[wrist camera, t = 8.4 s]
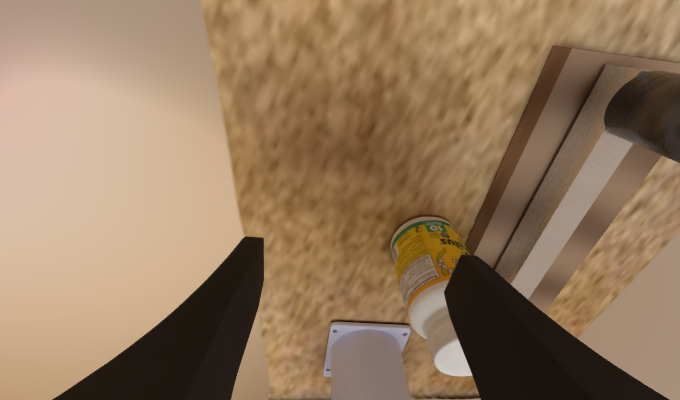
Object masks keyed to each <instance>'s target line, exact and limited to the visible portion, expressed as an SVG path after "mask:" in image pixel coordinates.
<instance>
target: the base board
mask: <svg viewBox="0 0 680 400" xmlns="http://www.w3.org/2000/svg"><path fill="white" fill-rule="evenodd" d="M606 64H607V65H614V66H622V67H630V68H637V69H644V70H650V71H666V72H672V73H678V74H680V63H675V62H668V61H661V60H653V59H646V58H639V57H631V56H624V55H617V54H610V53H602V52H595V51H588V50H580V49H573V48H566V47H558V46H553V48H552V51H551V53H550V55H549V57H548V60H547V62H546V64H545V66H544V69H543V71H542V73H541V75H540V78H539V80H538V82H537V84H536V87H535V89H534V91H533V93H532V96H531V98H530V100H529V102H528V105H527V107H526V109H525V111H524V114H523V116H522V118H521V120H520V123H519V125H518V127H517V129H516V132H515V134H514V136H513V139H512V141H511V143H510V145H509V148H508V150H507V152H506V154H505V157H504V159H503V161H502V163H501V166H500V168H499V170H498V172H497V175H496V177H495V179H494V181H493V184H492V186H491V188H490V190H489V193H488V195H487V197H486V199H485V202H484V204H483V206H482V208H481V211H480V213H479V215H478V217H477V220H476V222H475V224H474V226H473V229H472V231H471V233H470V235H469V238H468V240H467V242H466V245H465V246H466V248H467V249H468V251H469V253H470V254H471V255H475V256H478V257H479V258H481V259H482V260H483V261H484V262H485V263H487V264H488V265H489V266H490V267H491V268H493V269H494V270H495V269H496V267H497V265H498V263H499V261H500V259H501V258H502V256H503V254H504V252H505V250H506V248H507V247H508V245H509V243H510V241H511V239H512V237H513V236H514V234H515V232H516V230H517V228H518V226H519V224H520V223H521V221H522V219H523V217H524V215H525V213H526V212H527V210H528V208H529V206H530V204H531V202H532V201H533V199H534V197H535V195H536V193H537V191H538V189H539V188H540V186H541V184H542V182H543V180H544V178H545V177H546V175H547V173H548V171H549V169H550V167H551V165H552V164H553V162H554V160H555V158H556V156H557V154H558V153H559V151H560V149H561V147H562V145H563V143H564V142H565V140H566V138H567V136H568V134H569V132H570V130H571V129H572V127H573V125H574V123H575V121H576V119H577V118H578V116H579V114H580V112H581V110H582V108H583V106H584V105H585V103H586V101H587V99H588V97H589V95H590V94H591V92H592V90H593V88H594V86H595V84H596V83H597V81H598V79H599V77H600V75H601V73H602V71H603V70H604V68H605V66H606ZM661 156H662V155H660V154H657V153H655V152H653V151H650V150H648V149H646V148H643V147H641V146H638V145H636V144H634V143H633V145H632V146H631V148H630V149H629V151H628V152H627V154H626V155H625V157H624V158H623V159H622V161H621V162H620V164H619V165H618V167H617V168H616V170H615V171H614V173H613V174H612V176H611V177H610V179H609V180H608V182H607V183H606V185H605V186H604V188H603V189H602V191H601V192H600V194H599V195H598V197H597V198H596V200H595V201H594V203H593V204H592V205H591V207H590V208H589V210H588V211H587V213H586V214H585V216H584V217H583V219H582V220H581V222H580V223H579V225H578V226H577V228H576V229H575V231H574V232H573V234H572V235H571V237H570V238H569V240H568V241H567V243H566V244H565V246H564V247H563V248H562V250H561V251H560V253H559V254H558V256H557V257H556V259H555V260H554V262H553V263H552V265H551V266H550V268H549V269H548V271H547V272H546V274H545V275H544V277H543V278H542V280H541V281H540V283H539V284H538V286H537V287H536V289H535V290H534V292H533V293H532V294H531V296H530V297H529V299H528V300H529V301H530V302H531V303H533V304H534V305H535V306H536V307H537V308H539V309H540V310H541V311H542V312H543V313H545V312H546V310H547V309H548V308H549V306H550V305H551V303H552V302H553V301H554V299H555V298H556V297H557V295H558V294H559V293H560V291H561V290H562V289H563V287H564V286H565V285H566V283H567V282H568V281H569V279H570V278H571V277H572V275H573V274H574V273H575V271H576V270H577V269H578V267H579V266H580V265H581V263H582V262H583V261H584V259H585V258H586V257H587V255H588V254H589V253H590V251H591V250H592V249H593V247H594V246H595V245H596V243H597V242H598V240H599V239H600V238H601V236H602V235H603V234H604V232H605V231H606V230H607V228H608V227H609V226H610V224H611V223H612V222H613V220H614V219H615V218H616V216H617V215H618V214H619V212H620V211H621V210H622V208H623V207H624V206H625V204H626V203H627V202H628V200H629V199H630V198H631V196H632V195H633V194H634V192H635V191H636V190H637V188H638V187H639V186H640V184H641V183H642V181H643V180H644V179H645V177H646V176H647V175H648V173H649V172H650V171H651V169H652V168H653V167H654V165H655V164H656V163H657V161H658V160H659V159H660V157H661Z"/></svg>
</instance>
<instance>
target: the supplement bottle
mask: <svg viewBox="0 0 680 400" xmlns="http://www.w3.org/2000/svg"><path fill="white" fill-rule="evenodd" d="M391 254H392V258H393V262H394V266H395V270H396V273H397V277H398V281H399V284H400V288H401V292H402V296H403V299H404V303H405V307H406V311H407V314H408V318H409V321H410V323H411V325H412V327H413V329H414V330H415V331H416V332H417V333H418V334H419V335H420V336H421V337H423V338H425V339H427V340H428V348H429V350H430V353H431V356H432V359H433V362H434V364H435V366H436V368H437V369H438V370H439V371H441V372H442V373H444V374H447V375H451V376H472V373H471V370H470V368H469V365H468V363H467V360H466V358H465V355H464V353H463V350H462V348H461V345H460V343H459V340H458V338H457V335H456V332H455V330H454V327H453V325H452V322H451V319H450V316H449V312H448V308H447V304H446V300H445V295H444V291H445V288H446V286H447V284H448V282H449V280H450V278H451V275H452V273H453V271H454V269H455V267H456V265H457V262H458V260H459V258H460V256H461V254H463V255H471V254H470V253H469V251H468V249H467V248H466V246H465V244H464V242H463V241H462V239H461V237H460V236H459V234H458V232H457V231H456V229H455V228H454V226H453V225H452V224H451V223H449V222H448V221H446V220H444V219H442V218H439V217H419V218H415V219H412V220H410V221H408V222H406V223H405V224H403V225H402V226H401V227H400V228H399V229H398V230H397V231H396V232H395V234H394V235H393V238H392V241H391Z"/></svg>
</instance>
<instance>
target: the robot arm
mask: <svg viewBox="0 0 680 400" xmlns="http://www.w3.org/2000/svg"><path fill="white" fill-rule="evenodd" d="M263 281H264V238H258V237H244V238H243V239H242V240H241V241H240V243H239V244H238V245H237V246H236V248H235V249H234V250H233V251H232V252H231V254H230V255H229V256H228V257H227V258H226V259H225V261H224V262H223V263H222V264H221V265H220V266H219V267H218V268H217V269H216V270H215V271H214V273H212V275H211V276H210V277H209V278H208V279H207V280H206V281H205V282H204V283H203V284H202V285H201V286H200V287H199V288H198V289H197V290H196V291H195V292H194V293H193V294H192V295H190V296H189V298H187V299H186V300H185V301H184V302H183V303H182V304H181V305H180V306H179V307H178V308H176V309H175V310H174V311H173V312H172V313H171V314H170V315H169V316H168V317H166V318H165V319H164V320H163V321H161V322H160V323H159V324H158V325H157V326H156V327H154V328H153V329H152V330H151V331H149V332H148V333H147V334H145V335H144V336H143V337H142V338H140V339H139V340H138V341H136V342H135V343H134V344H133V345H131V346H130V347H129V348H127V349H126V350H125V351H123V352H122V353H121V354H119V355H118V356H116V357H115V358H114V359H112V360H111V361H110V362H108V363H107V364H105V365H104V366H102V367H101V368H99V369H98V370H96V371H95V372H93V373H92V374H90V375H89V376H87V377H86V378H84V379H83V380H81V381H80V382H78V383H77V384H76V385H74V386H73V387H71V388H70V389H68V390H67V391H65V392H64V393H62V394H61V395H59V396H57V397H56V398H54V399H53V400H231V396H232V392H233V387H234V384H235V380H236V376H237V373H238V369H239V366H240V363H241V360H242V357H243V354H244V351H245V348H246V344H247V341H248V338H249V335H250V332H251V329H252V326H253V322H254V319H255V316H256V313H257V310H258V306H259V301H260V297H261V292H262V286H263ZM444 295H445V300H446V304H447V308H448V312H449V316H450V319H451V322H452V325H453V327H454V330H455V332H456V335H457V338H458V340H459V343H460V345H461V348H462V350H463V353H464V355H465V358H466V360H467V363H468V365H469V368H470V370H471V373H472V375H473V378H474V381H475V383H476V386H477V389H478V392H479V395H480V398H481V400H669V399H667V398H666V397H664V396H663V395H661V394H659V393H658V392H656V391H654V390H653V389H651V388H649V387H648V386H646V385H644V384H643V383H641V382H640V381H638V380H637V379H635V378H634V377H632V376H630V375H629V374H627V373H626V372H624V371H623V370H621V369H619V368H618V367H617V366H615V365H614V364H612V363H611V362H609V361H607V360H606V359H605V358H603V357H602V356H600V355H599V354H598V353H596V352H595V351H593V350H592V349H591V348H589V347H588V346H586V345H585V344H584V343H582V342H581V341H579V340H578V339H577V338H575V337H574V336H573V335H571V334H570V333H569V332H567V331H566V330H565V329H563V328H562V327H561V326H560V325H558V324H557V323H556V322H555V321H553V320H552V319H551V318H550V317H548V316H547V315H546V314H545V313H543V312H542V311H541V310H540V309H539V308H537V307H536V306H535V305H534V304H533V303H531V302H530V301H529V300H528V299H527V298H526V297H524V296H523V295H522V294H521V293H520V292H519V291H518V290H516V289H515V288H514V287H513V286H512V285H511V284H510V283H508V282H507V281H506V280H505V279H504V278H503V277H502V276H501V275H499V274H498V273H497V272H496V271H495V270H494V269H493V268H491V267H490V266H489V265H488V264H487V263H485V262H484V261H483V260H482V259H481V258H479V257H478V256H475V255H463V254H461V256H460V258H459V260H458V262H457V265H456V267H455V269H454V271H453V273H452V275H451V278H450V280H449V282H448V284H447V286H446V288H445V291H444ZM410 332H411V328H410V326H408V325H394V324H373V323H353V322H333V323H331V325H330V331H329V338H328V344H327V350H326V356H325V363H324V369H323V376H325V377H331V400H411V396H410V391H409V387H408V382H407V377H406V372H405V368H404V363H403V358H402V352H403V350H404V347H405V345H406V342H407V340H408V337H409V335H410Z"/></svg>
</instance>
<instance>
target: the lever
mask: <svg viewBox="0 0 680 400" xmlns="http://www.w3.org/2000/svg"><path fill="white" fill-rule="evenodd" d="M633 143H634V144H636V145H638V146H641V147H643V148H646V149H648V150H650V151H653V152H655V153H657V154H660V155H662V156H664V157H667V158H669V159H672V160H674V161H676V162H679V163H680V74H678V73H672V72H666V71H650V70H644V69H637V68H630V67H622V66H614V65H607V64H606V66H605V68H604V70H603V71H602V73H601V75H600V77H599V79H598V81H597V83H596V84H595V86H594V88H593V90H592V92H591V94H590V95H589V97H588V99H587V101H586V103H585V105H584V106H583V108H582V110H581V112H580V114H579V116H578V118H577V119H576V121H575V123H574V125H573V127H572V129H571V130H570V132H569V134H568V136H567V138H566V140H565V142H564V143H563V145H562V147H561V149H560V151H559V153H558V154H557V156H556V158H555V160H554V162H553V164H552V165H551V167H550V169H549V171H548V173H547V175H546V177H545V178H544V180H543V182H542V184H541V186H540V188H539V189H538V191H537V193H536V195H535V197H534V199H533V201H532V202H531V204H530V206H529V208H528V210H527V212H526V213H525V215H524V217H523V219H522V221H521V223H520V224H519V226H518V228H517V230H516V232H515V234H514V236H513V237H512V239H511V241H510V243H509V245H508V247H507V248H506V250H505V252H504V254H503V256H502V258H501V259H500V261H499V263H498V265H497V267H496V269H495V271H496V272H497V273H498V274H499V275H501V276H502V277H503V278H504V279H505V280H506V281H507V282H508V283H510V284H511V285H512V286H513V287H514V288H515V289H516V290H518V291H519V292H520V293H521V294H522V295H523V296H524V297H526V298H527V299H529V297H530V296H531V294H532V293H533V292H534V290H535V289H536V287H537V286H538V284H539V283H540V281H541V280H542V278H543V277H544V275H545V274H546V272H547V271H548V269H549V268H550V266H551V265H552V263H553V262H554V260H555V259H556V257H557V256H558V254H559V253H560V251H561V250H562V248H563V247H564V246H565V244H566V243H567V241H568V240H569V238H570V237H571V235H572V234H573V232H574V231H575V229H576V228H577V226H578V225H579V223H580V222H581V220H582V219H583V217H584V216H585V214H586V213H587V211H588V210H589V208H590V207H591V205H592V204H593V203H594V201H595V200H596V198H597V197H598V195H599V194H600V192H601V191H602V189H603V188H604V186H605V185H606V183H607V182H608V180H609V179H610V177H611V176H612V174H613V173H614V171H615V170H616V168H617V167H618V165H619V164H620V162H621V161H622V159H623V158H624V157H625V155H626V154H627V152H628V151H629V149H630V148H631V146H632V145H633Z"/></svg>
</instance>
